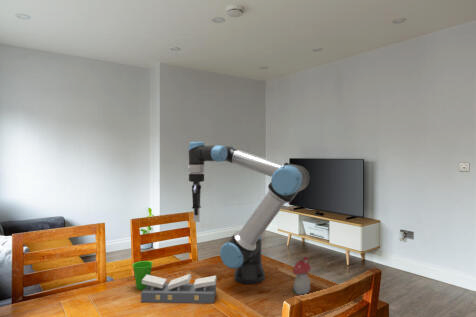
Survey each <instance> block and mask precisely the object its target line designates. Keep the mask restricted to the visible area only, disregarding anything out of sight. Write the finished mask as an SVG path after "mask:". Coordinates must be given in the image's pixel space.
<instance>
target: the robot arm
mask: <svg viewBox="0 0 476 317" xmlns="http://www.w3.org/2000/svg"><path fill="white" fill-rule="evenodd" d="M205 162H216V163H218V162H227V163H231V164H232V165H233V164H234V165H237V166H240V167H243V168H246V169H247V170H249V171H250V170H251V171H253V172H257V173H259V174H262V175H265V176H268V177H271V179H270V180H271V181H270V182H269V184H268V185H267V189H268V192H267V193H266V194H265V196H264V197H263V199H262V200H261V202H260V203H259V204H258V206H256V208H255V210H254V211H253V212H252V214H251V215H250V217H249V218H248V219H247V221H246V222H245V223H244V225H243V227H242V228H241V230H238V231H235V232H234V233H233V235H232V236H231V238H230V239H229V240H228V242H225V243H224V244H222V245H221V247H220V249H219V250H220V251H219V256H220V260H221V262H222V263H223V264H224V265H225V266H226V267H227V268H229V269H235V270H234V275H233V278H234V280H235V281H236V282H238V283H239V284H244V285H245V284H246V285H255V284H260V283H263V282H264V281H265V279H266V278H265V276H266V273H265V270H264V268H263V267H264V266H263V264H262V241H263V240H262V235H263V234H264V233H265V231H266V230H267V228H268V227H269V226H270V224H271V223H272V222H273V221H274V219H275V218H276V216H277V215H278V213H279V212H280V210H282V208H283V207H284V205H285V204H288V203H291V202H292V201H293V200H294V199H295V197H296V196H297V194H299V192H301V191H303V190H305V189H306V188H307V186H308V185H309V182H310V173H309V171H308V170H307V169H306V168H305V167H304V166H302V165H299V164H293V163H290V162H284V163H283V162H282V163H281V162H279V161H276V160H273V159H269V158H266V157H263V156H259V155H256V154H253V153H250V152H247V151H244V150H241V149H238V148H236V147H234V146H230V145H228V146H227V145H226V146H225V145H220V144H217V145H205V142H204V141H190V142H189V144H188V166H187V169H188V173H189V174H188V182H189V183H190V182H192V186H191V192H192V194H191V195H192V206H191V209H192V210H193V222H194V223H199V222H200V218H201V217H200V215H201V214H200V211H201V210H200V209H201V208H202V206H201V192H202V191H201V190H202V184H201V182H204V181H205ZM263 280H264V281H263Z"/></svg>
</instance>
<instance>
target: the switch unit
mask: <svg viewBox="0 0 476 317" xmlns="http://www.w3.org/2000/svg"><path fill="white" fill-rule="evenodd" d="M169 283H170V282H168V283H167V282H166V283H165V285H164V286H163V288H158V287H154V286H150V285H147V286H146V287H145V288H144V290H141V293H140V302H141V303H159V304H161V303H165V304H170V303H171V304H214V303H215V299H216V294H217V284H216V285H211V286H205V287H200V288H194V283H195V282H194V283H191V282H189V283H187V284H184V285H181V286H178V287H175V288H172V289H170V290H169V289H168V285H169Z"/></svg>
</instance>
